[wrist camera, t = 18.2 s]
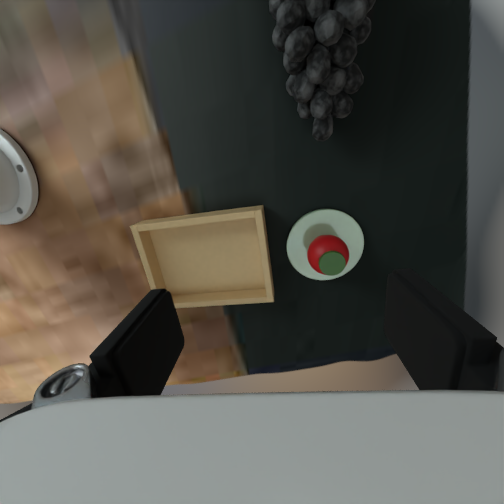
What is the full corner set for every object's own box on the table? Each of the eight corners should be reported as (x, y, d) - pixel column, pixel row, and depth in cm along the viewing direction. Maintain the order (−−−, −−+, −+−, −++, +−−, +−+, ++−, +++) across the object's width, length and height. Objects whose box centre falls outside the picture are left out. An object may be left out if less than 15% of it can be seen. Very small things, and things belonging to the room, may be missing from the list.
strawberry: (306, 265, 30) (311, 285, 25) (303, 231, 28) (308, 245, 23) (343, 262, 29) (355, 282, 24) (342, 227, 27) (355, 241, 23)
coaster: (289, 280, 31) (290, 282, 31) (283, 213, 28) (283, 214, 28) (362, 275, 30) (363, 277, 29) (363, 203, 27) (364, 204, 26)
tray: (166, 298, 34) (157, 309, 32) (142, 220, 30) (129, 225, 28) (274, 290, 32) (273, 302, 29) (263, 204, 28) (261, 209, 26)
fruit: (370, 132, 16) (383, -232, 11) (260, 150, 20) (228, -115, 15) (371, 134, 24) (379, -85, 18) (289, 147, 27) (275, -32, 22)
